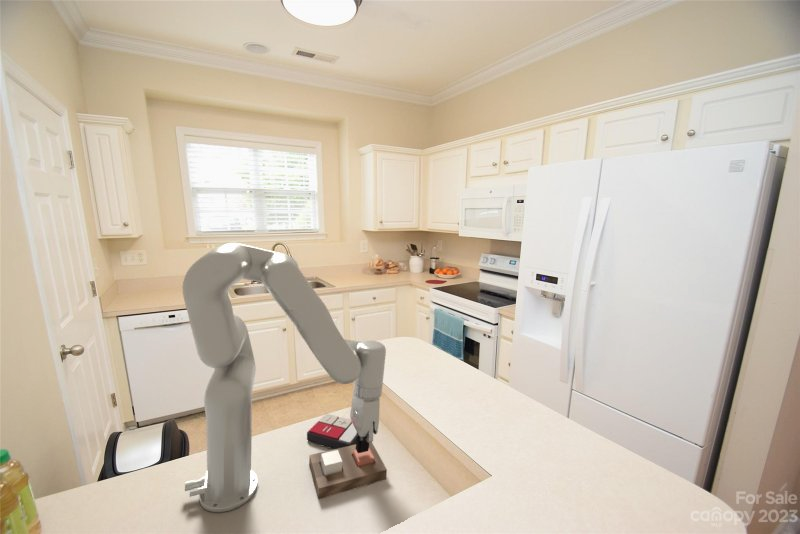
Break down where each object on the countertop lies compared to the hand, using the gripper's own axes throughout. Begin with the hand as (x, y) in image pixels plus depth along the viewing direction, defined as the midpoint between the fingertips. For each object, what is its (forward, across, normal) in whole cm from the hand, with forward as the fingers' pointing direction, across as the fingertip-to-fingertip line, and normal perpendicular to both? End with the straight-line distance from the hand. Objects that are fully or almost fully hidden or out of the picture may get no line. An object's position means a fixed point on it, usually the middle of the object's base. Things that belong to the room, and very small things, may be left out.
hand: (362, 450), depth 91 cm
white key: (+4, 0, -8) cm, 9 cm away
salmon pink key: (+5, 0, +1) cm, 5 cm away
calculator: (+6, -15, -3) cm, 16 cm away
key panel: (+6, 0, -4) cm, 7 cm away
